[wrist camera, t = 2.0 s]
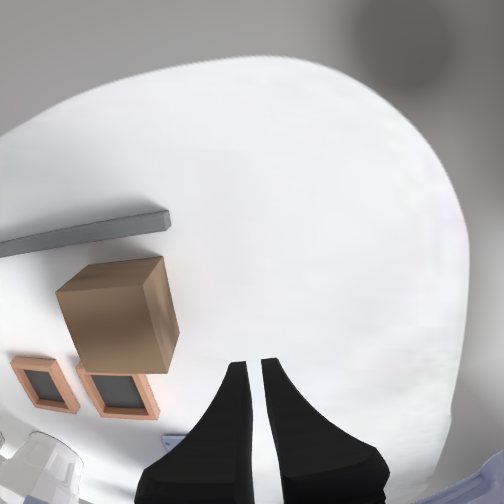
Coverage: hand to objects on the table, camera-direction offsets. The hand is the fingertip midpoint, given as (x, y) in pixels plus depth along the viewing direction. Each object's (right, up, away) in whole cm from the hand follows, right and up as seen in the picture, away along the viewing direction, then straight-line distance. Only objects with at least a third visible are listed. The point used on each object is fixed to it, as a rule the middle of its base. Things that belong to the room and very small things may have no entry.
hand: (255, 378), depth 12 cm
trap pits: (-16, -7, +11) cm, 21 cm away
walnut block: (-9, +2, +9) cm, 13 cm away
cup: (-26, -21, +16) cm, 37 cm away
